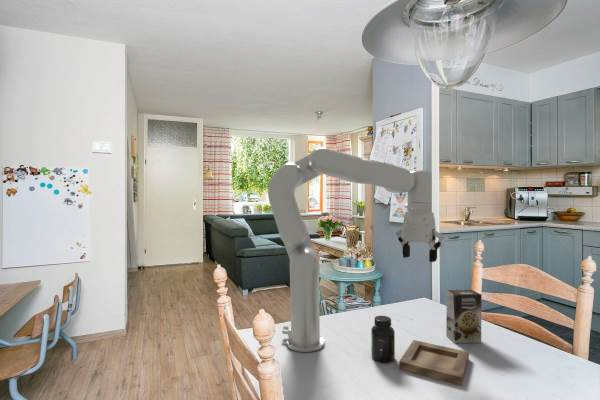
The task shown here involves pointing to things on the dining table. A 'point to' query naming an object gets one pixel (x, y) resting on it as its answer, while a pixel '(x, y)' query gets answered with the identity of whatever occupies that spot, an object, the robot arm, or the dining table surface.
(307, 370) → the dining table surface
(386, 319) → the supplement bottle
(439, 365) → the wooden tray
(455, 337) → the coffee box
